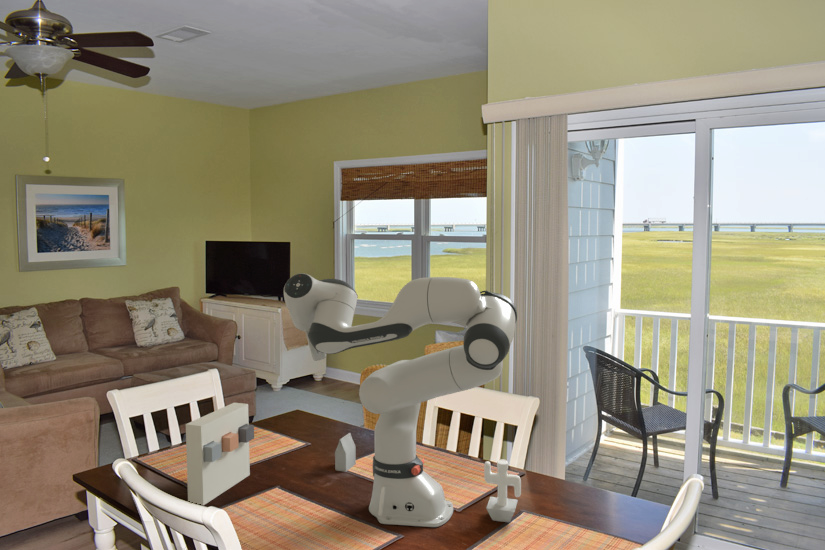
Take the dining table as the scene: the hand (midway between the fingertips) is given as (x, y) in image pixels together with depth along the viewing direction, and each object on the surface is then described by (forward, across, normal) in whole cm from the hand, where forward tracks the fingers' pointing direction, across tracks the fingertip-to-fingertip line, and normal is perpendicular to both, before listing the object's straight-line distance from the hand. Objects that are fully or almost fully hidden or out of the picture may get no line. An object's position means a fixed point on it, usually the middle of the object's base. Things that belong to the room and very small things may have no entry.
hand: (314, 335), depth 176 cm
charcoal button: (+23, -15, +28) cm, 40 cm away
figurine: (+9, -61, -34) cm, 70 cm away
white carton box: (+38, -29, +2) cm, 48 cm away
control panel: (+25, -27, +38) cm, 52 cm away
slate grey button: (+11, -22, +36) cm, 43 cm away
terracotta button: (+17, -19, +32) cm, 41 cm away
